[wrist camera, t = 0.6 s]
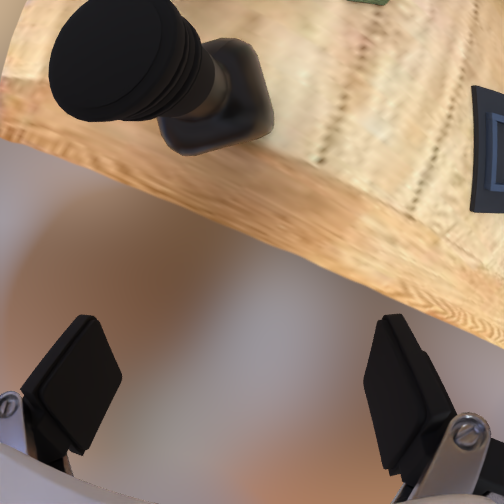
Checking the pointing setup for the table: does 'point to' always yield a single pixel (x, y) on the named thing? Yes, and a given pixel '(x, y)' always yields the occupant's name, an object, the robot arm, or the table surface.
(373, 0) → the green block
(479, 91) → the black pad
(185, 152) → the wine bottle
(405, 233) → the table surface
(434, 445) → the robot arm
